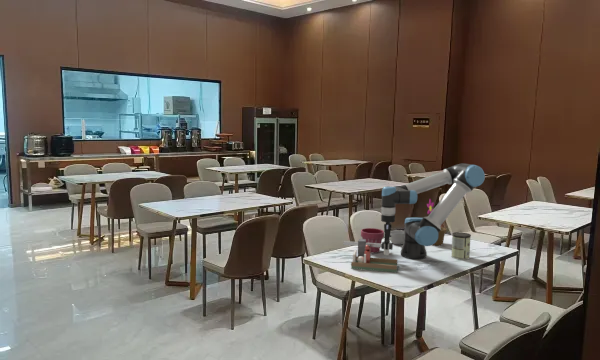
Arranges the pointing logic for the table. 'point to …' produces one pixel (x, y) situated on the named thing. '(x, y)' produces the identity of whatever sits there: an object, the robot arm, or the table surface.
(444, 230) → the flowerpot
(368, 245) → the slider
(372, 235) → the plant pot
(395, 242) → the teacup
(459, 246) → the coffee can
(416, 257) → the robot arm
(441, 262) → the table surface
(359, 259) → the ball
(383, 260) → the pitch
